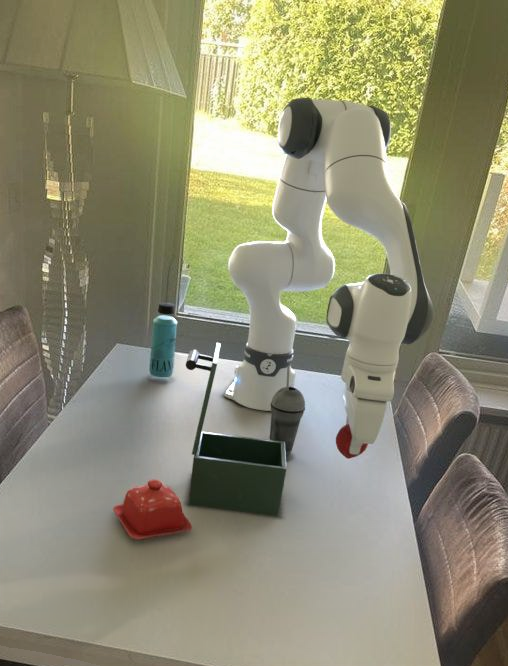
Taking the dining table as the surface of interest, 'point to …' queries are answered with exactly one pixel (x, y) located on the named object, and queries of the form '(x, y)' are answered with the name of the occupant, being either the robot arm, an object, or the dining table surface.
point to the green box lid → (192, 365)
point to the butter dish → (152, 511)
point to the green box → (238, 473)
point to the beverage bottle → (163, 342)
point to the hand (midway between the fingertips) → (351, 444)
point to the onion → (346, 442)
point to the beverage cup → (286, 415)
